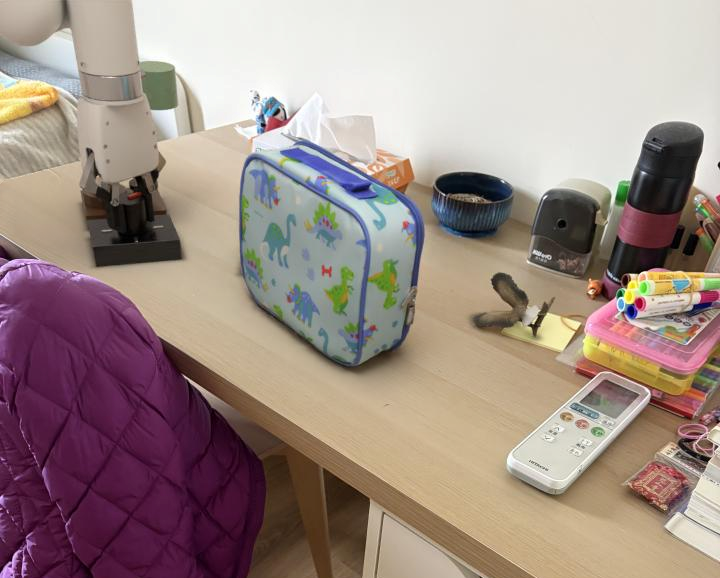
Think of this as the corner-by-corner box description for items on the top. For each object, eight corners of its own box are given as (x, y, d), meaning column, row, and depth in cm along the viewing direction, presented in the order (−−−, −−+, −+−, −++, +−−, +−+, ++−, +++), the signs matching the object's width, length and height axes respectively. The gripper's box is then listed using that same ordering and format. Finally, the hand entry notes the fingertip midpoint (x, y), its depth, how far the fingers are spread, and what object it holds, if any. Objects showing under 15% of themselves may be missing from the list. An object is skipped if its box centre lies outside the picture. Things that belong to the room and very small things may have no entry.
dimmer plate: (96, 266, 101) (92, 245, 99) (90, 239, 107) (86, 218, 105) (181, 259, 105) (179, 238, 103) (171, 233, 111) (169, 213, 109)
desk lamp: (132, 195, 110) (114, 72, 99) (127, 181, 114) (109, 61, 103) (188, 192, 113) (178, 71, 101) (182, 177, 117) (171, 60, 105)
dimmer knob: (131, 238, 102) (126, 205, 98) (110, 229, 103) (104, 195, 100) (154, 229, 104) (150, 196, 101) (134, 220, 106) (129, 187, 103)
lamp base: (88, 229, 109) (83, 203, 107) (82, 203, 116) (78, 178, 113) (167, 223, 113) (165, 198, 110) (158, 199, 120) (155, 174, 117)
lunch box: (420, 359, 90) (446, 191, 76) (355, 387, 84) (370, 212, 70) (297, 275, 104) (300, 120, 89) (234, 295, 98) (226, 133, 84)
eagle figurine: (548, 311, 99) (489, 283, 100) (562, 286, 92) (498, 256, 93) (525, 356, 97) (465, 328, 99) (537, 334, 90) (473, 304, 92)
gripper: (141, 68, 98) (157, 201, 110) (35, 90, 87) (66, 234, 99) (181, 80, 95) (192, 215, 107) (77, 104, 84) (103, 251, 97)
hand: (131, 223), depth 103 cm, fingers closed on dimmer knob, 4 cm apart
